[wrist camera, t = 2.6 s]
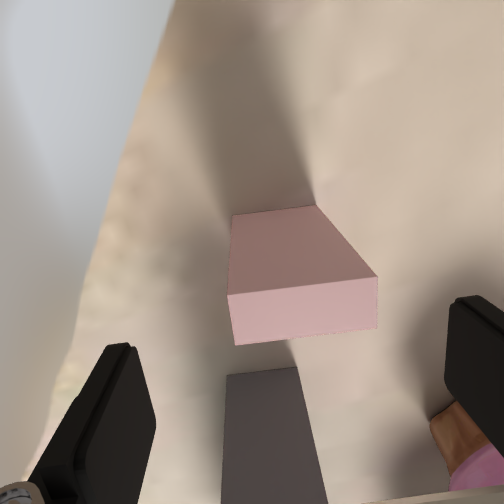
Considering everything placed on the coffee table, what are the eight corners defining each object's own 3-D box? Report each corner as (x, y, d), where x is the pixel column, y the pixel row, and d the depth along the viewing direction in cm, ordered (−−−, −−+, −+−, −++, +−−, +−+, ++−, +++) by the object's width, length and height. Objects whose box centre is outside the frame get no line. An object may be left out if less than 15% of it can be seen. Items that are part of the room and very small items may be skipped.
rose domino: (232, 215, 21) (226, 295, 12) (316, 205, 21) (377, 276, 12) (236, 247, 22) (234, 345, 13) (318, 236, 22) (377, 328, 13)
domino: (226, 375, 25) (219, 528, 16) (297, 367, 25) (330, 515, 16) (230, 397, 26) (226, 555, 17) (299, 389, 26) (332, 543, 17)
